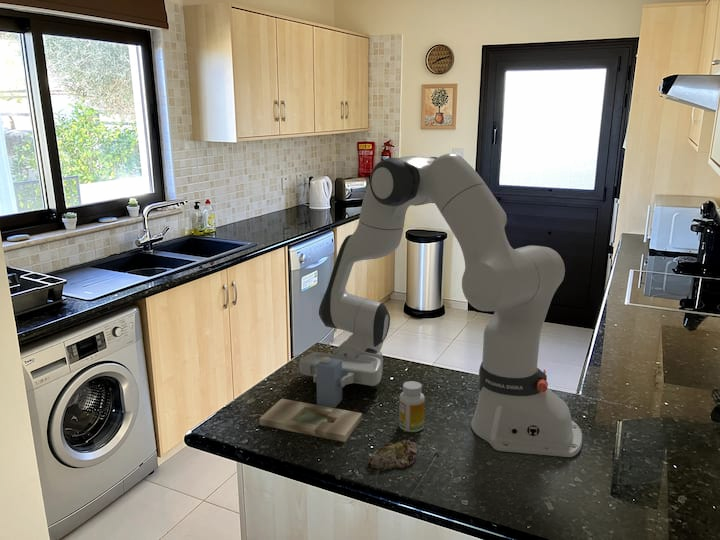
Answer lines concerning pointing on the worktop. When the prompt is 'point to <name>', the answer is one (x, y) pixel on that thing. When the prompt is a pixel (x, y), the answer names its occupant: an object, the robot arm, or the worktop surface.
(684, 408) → the worktop surface
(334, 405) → the block
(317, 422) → the board
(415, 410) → the supplement bottle
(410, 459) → the mineral rock
